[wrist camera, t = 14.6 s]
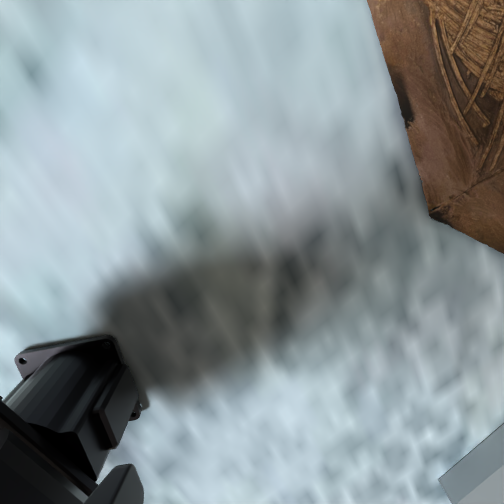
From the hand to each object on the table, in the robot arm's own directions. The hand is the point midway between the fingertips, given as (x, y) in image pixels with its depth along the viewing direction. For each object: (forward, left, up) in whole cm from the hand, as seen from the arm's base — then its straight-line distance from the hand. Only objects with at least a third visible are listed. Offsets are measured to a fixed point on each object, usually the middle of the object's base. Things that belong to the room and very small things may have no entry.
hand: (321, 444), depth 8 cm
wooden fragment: (+13, +6, -14) cm, 20 cm away
